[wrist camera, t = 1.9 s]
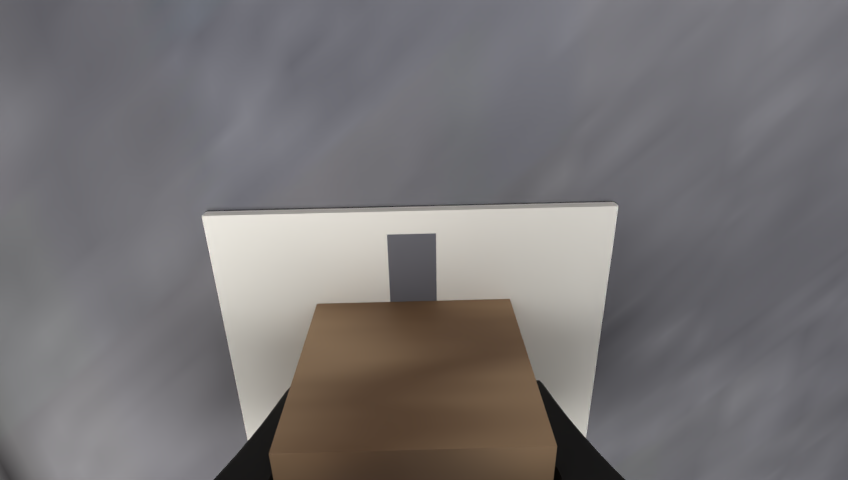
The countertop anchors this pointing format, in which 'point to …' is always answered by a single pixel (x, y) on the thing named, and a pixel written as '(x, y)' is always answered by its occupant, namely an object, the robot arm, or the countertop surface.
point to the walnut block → (414, 396)
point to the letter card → (413, 281)
